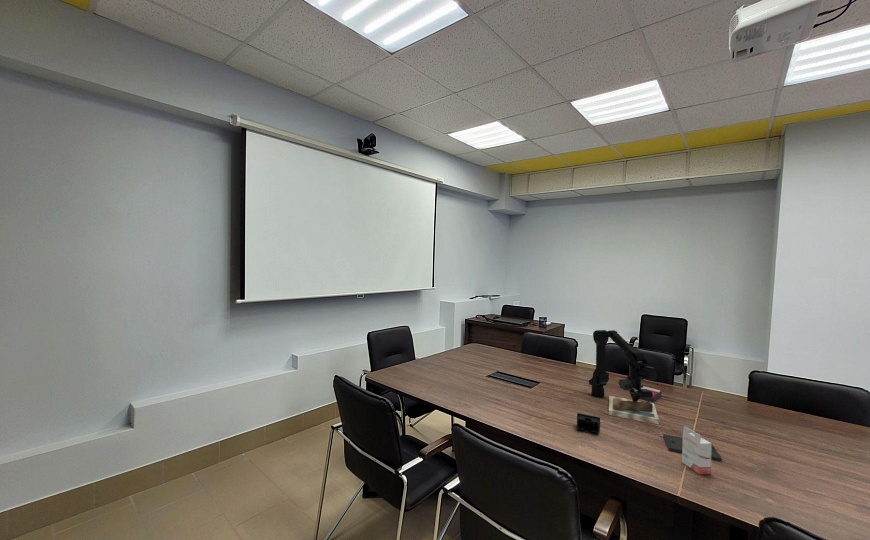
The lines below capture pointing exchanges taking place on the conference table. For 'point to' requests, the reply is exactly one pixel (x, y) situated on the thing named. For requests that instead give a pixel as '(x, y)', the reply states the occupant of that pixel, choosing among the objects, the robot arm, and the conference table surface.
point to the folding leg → (632, 405)
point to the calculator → (655, 395)
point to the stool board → (633, 412)
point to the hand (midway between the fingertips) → (634, 403)
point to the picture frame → (676, 446)
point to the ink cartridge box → (696, 452)
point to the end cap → (588, 424)
